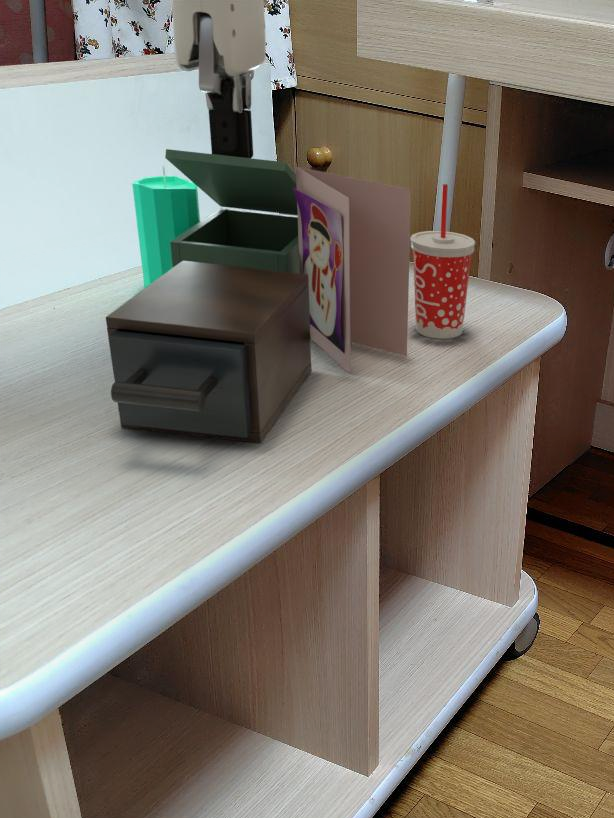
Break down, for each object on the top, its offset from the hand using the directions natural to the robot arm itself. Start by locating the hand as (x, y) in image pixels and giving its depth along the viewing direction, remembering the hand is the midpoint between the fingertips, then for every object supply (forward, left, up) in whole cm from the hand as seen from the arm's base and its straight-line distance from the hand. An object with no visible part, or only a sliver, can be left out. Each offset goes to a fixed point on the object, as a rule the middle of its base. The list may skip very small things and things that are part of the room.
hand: (232, 157), depth 88 cm
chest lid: (0, +4, -4) cm, 5 cm away
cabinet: (+4, -18, -15) cm, 24 cm away
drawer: (+4, -22, -14) cm, 26 cm away
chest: (0, +4, -15) cm, 15 cm away
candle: (-9, +7, -15) cm, 19 cm away
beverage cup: (+19, +3, -15) cm, 24 cm away
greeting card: (+12, -4, -15) cm, 19 cm away
